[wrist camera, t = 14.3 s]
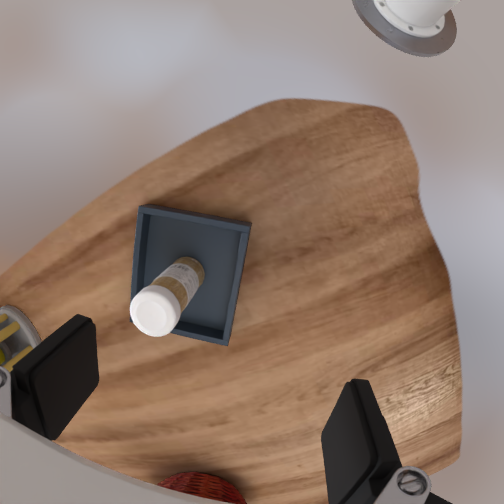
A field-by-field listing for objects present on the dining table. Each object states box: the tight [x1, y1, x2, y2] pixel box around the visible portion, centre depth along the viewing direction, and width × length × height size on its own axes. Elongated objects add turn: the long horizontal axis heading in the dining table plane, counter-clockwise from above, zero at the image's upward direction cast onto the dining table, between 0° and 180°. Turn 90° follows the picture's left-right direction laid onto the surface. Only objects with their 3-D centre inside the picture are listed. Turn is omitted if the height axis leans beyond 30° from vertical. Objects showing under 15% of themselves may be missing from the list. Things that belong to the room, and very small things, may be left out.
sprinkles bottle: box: [130, 257, 205, 337], centre depth 33 cm, size 5×5×14 cm
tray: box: [130, 204, 252, 346], centre depth 38 cm, size 16×14×3 cm
